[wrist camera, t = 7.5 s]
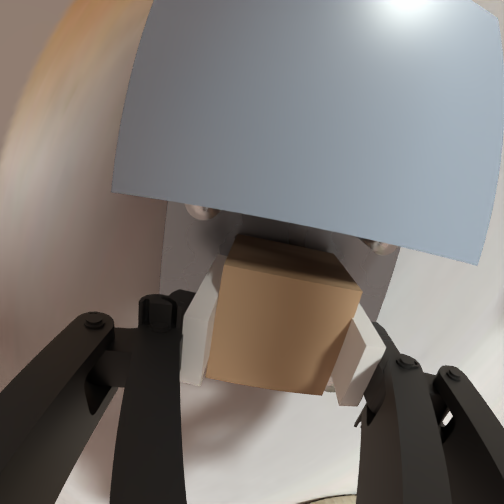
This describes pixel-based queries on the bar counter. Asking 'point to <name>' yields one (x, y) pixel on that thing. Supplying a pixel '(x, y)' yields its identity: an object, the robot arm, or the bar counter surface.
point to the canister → (337, 500)
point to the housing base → (232, 223)
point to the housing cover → (322, 116)
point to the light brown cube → (280, 316)
